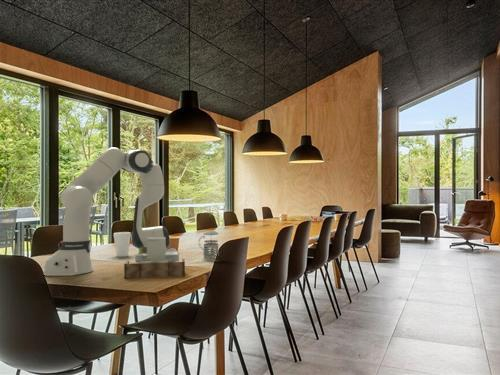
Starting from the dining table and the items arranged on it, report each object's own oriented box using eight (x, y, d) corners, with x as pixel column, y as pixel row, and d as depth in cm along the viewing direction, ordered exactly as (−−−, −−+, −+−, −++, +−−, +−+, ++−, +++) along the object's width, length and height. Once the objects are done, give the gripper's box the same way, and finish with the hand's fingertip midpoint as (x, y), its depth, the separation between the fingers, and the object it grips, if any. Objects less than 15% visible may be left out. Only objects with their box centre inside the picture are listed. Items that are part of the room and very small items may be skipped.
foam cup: (121, 257, 235) (121, 233, 235) (110, 256, 240) (109, 233, 240) (134, 255, 243) (134, 232, 244) (123, 254, 248) (123, 231, 248)
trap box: (124, 278, 178) (124, 262, 178) (126, 274, 186) (126, 259, 186) (184, 275, 182) (184, 260, 182) (184, 272, 190) (184, 257, 190)
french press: (217, 260, 221) (217, 212, 221) (196, 260, 223) (195, 212, 223) (222, 257, 231) (222, 211, 231) (202, 257, 233) (201, 211, 233)
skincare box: (146, 274, 187) (145, 238, 187) (147, 271, 193) (146, 236, 193) (165, 273, 188) (165, 238, 188) (165, 270, 195) (165, 236, 195)
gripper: (136, 249, 206) (133, 253, 192) (179, 248, 209) (179, 252, 196) (136, 262, 206) (133, 267, 192) (179, 261, 209) (179, 266, 196)
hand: (156, 259), depth 194 cm, fingers closed, pressing on skincare box
